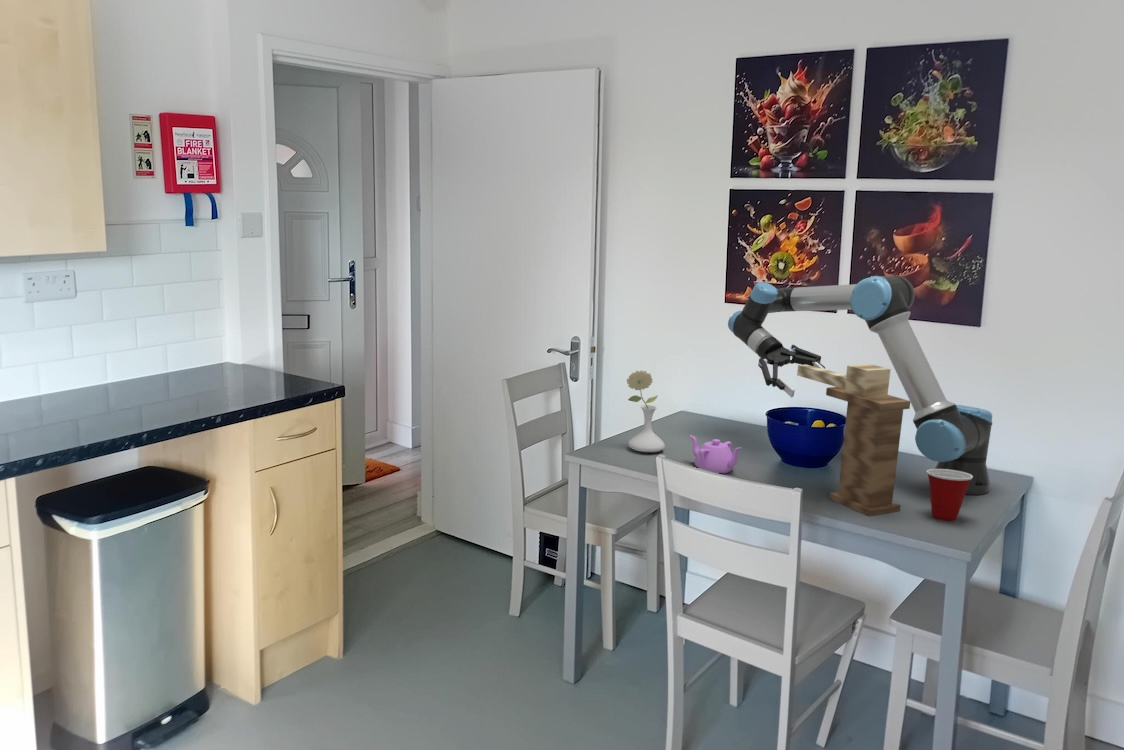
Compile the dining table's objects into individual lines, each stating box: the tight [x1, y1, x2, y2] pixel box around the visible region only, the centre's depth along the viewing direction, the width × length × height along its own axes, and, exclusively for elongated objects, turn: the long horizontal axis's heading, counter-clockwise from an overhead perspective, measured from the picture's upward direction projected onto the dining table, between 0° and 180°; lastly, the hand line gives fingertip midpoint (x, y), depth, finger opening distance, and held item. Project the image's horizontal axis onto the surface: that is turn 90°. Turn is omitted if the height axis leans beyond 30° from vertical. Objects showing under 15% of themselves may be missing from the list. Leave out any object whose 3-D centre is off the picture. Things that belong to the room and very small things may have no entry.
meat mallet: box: [796, 363, 891, 398], centre depth 236 cm, size 28×8×7 cm, turn 27°
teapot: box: [689, 434, 743, 475], centre depth 255 cm, size 12×14×9 cm
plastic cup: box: [926, 468, 973, 522], centre depth 222 cm, size 11×11×12 cm
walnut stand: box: [825, 386, 911, 517], centre depth 230 cm, size 20×11×29 cm, turn 27°
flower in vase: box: [626, 370, 666, 453], centre depth 270 cm, size 13×11×25 cm
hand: (811, 385), depth 258 cm, fingers open, 13 cm apart
